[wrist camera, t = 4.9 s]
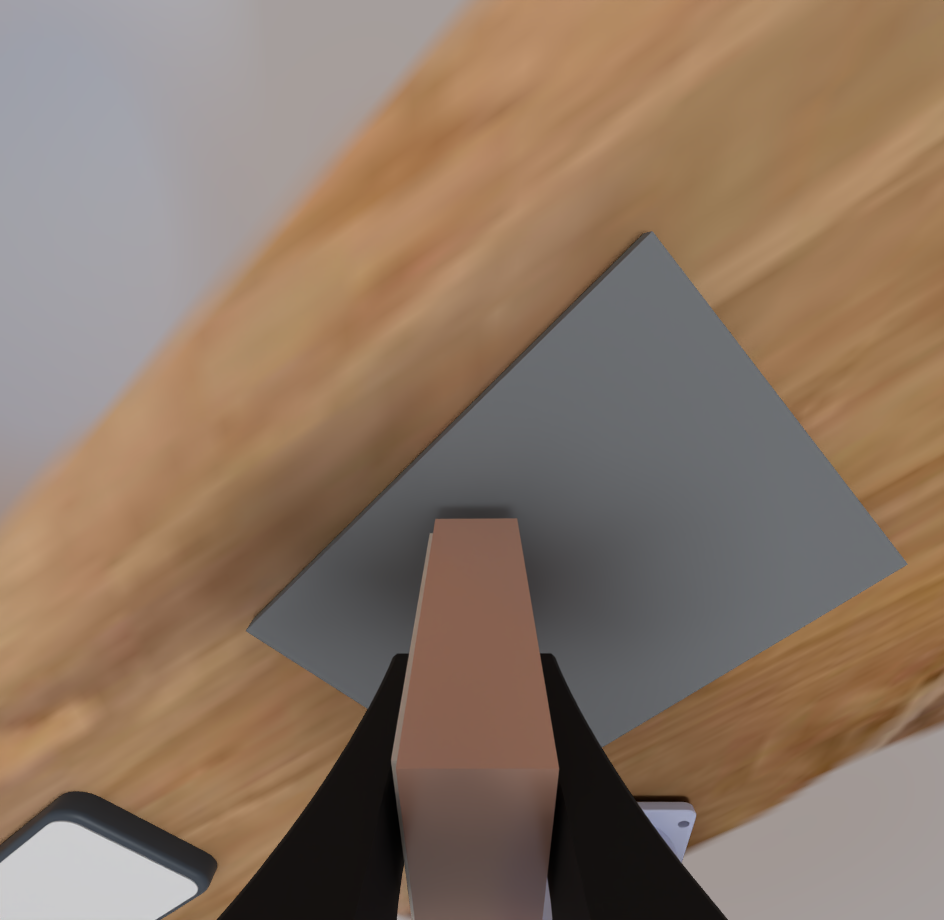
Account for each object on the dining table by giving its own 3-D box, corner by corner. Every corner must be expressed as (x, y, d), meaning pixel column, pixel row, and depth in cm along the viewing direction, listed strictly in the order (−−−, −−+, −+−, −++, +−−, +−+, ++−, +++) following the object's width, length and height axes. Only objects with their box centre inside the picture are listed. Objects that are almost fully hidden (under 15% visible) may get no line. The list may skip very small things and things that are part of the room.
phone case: (83, 769, 21) (-67, 894, 25) (54, 806, 19) (-101, 933, 23) (235, 849, 23) (77, 952, 27) (219, 888, 22) (55, 990, 26)
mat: (643, 233, 11) (652, 231, 11) (891, 553, 15) (907, 564, 14) (253, 619, 16) (245, 630, 16) (511, 786, 20) (512, 801, 20)
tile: (511, 666, 15) (537, 956, 9) (438, 667, 15) (412, 956, 9) (517, 518, 13) (559, 769, 6) (430, 518, 13) (385, 768, 6)
